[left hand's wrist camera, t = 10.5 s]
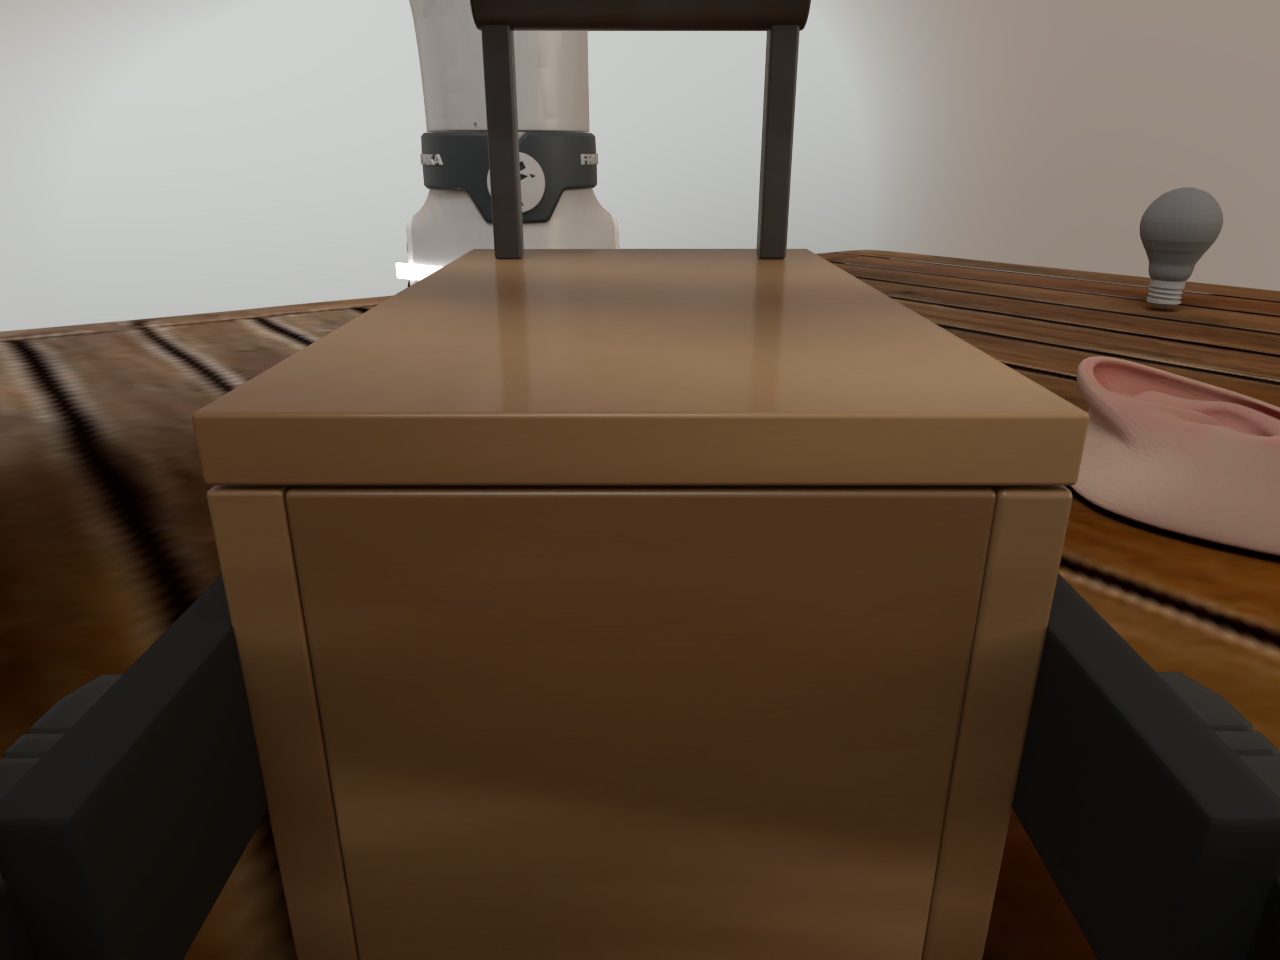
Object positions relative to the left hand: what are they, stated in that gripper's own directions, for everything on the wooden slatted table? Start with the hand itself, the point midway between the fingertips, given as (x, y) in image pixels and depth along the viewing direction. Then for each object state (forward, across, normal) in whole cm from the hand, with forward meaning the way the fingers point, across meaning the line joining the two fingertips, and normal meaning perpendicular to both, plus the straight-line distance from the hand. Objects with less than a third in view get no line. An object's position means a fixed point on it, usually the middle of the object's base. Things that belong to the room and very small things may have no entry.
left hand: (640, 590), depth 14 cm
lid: (+5, 0, +3) cm, 6 cm away
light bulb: (+64, +46, -6) cm, 79 cm away
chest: (+4, 0, -6) cm, 8 cm away
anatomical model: (+20, +23, -6) cm, 32 cm away
